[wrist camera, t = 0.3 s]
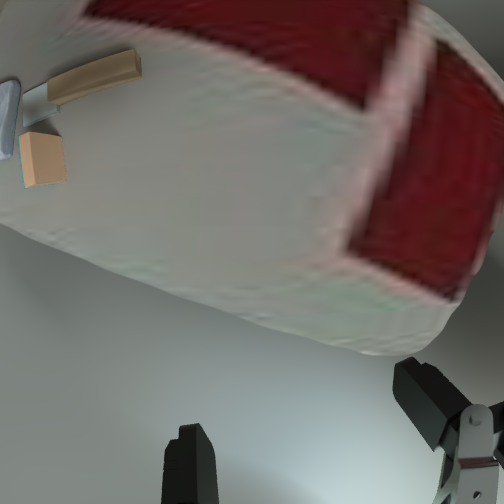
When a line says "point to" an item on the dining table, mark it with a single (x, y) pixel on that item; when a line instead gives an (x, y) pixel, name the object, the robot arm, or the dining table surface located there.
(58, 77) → the spatula
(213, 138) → the dining table surface
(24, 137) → the tile
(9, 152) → the stone block
